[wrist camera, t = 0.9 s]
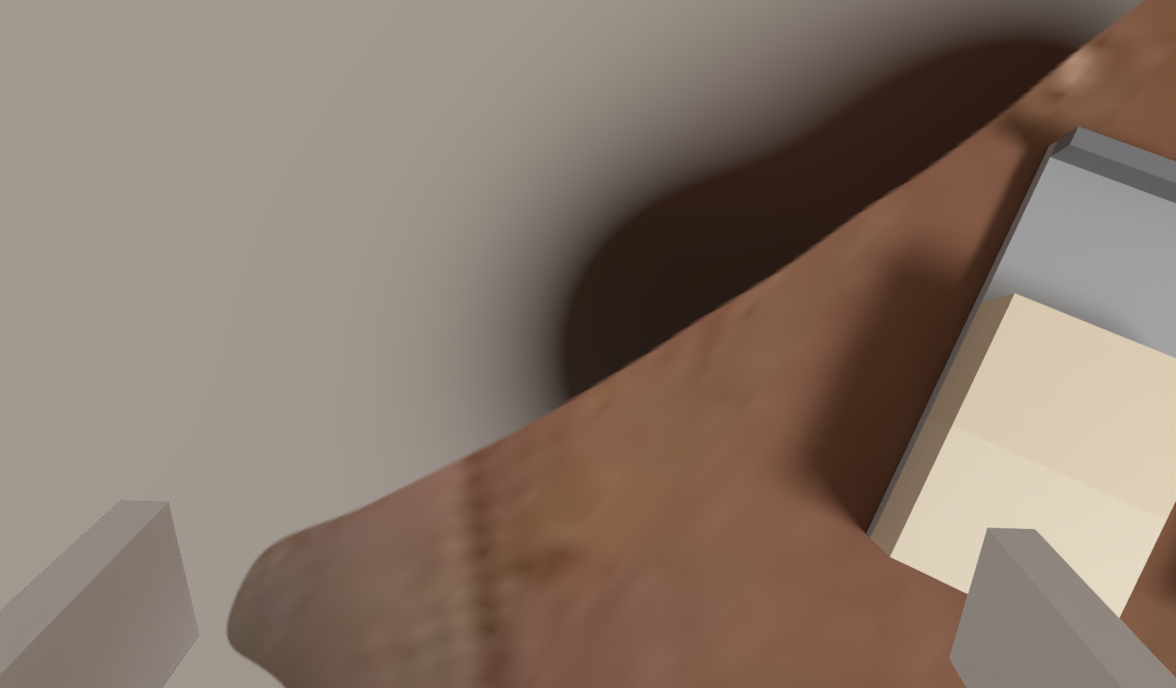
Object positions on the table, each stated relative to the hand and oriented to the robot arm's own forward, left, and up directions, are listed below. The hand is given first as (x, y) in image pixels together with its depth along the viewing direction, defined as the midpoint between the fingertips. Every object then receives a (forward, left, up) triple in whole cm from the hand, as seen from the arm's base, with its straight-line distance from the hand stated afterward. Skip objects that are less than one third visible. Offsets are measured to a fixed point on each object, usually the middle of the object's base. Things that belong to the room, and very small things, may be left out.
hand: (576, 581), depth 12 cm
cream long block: (-17, -12, -30) cm, 36 cm away
